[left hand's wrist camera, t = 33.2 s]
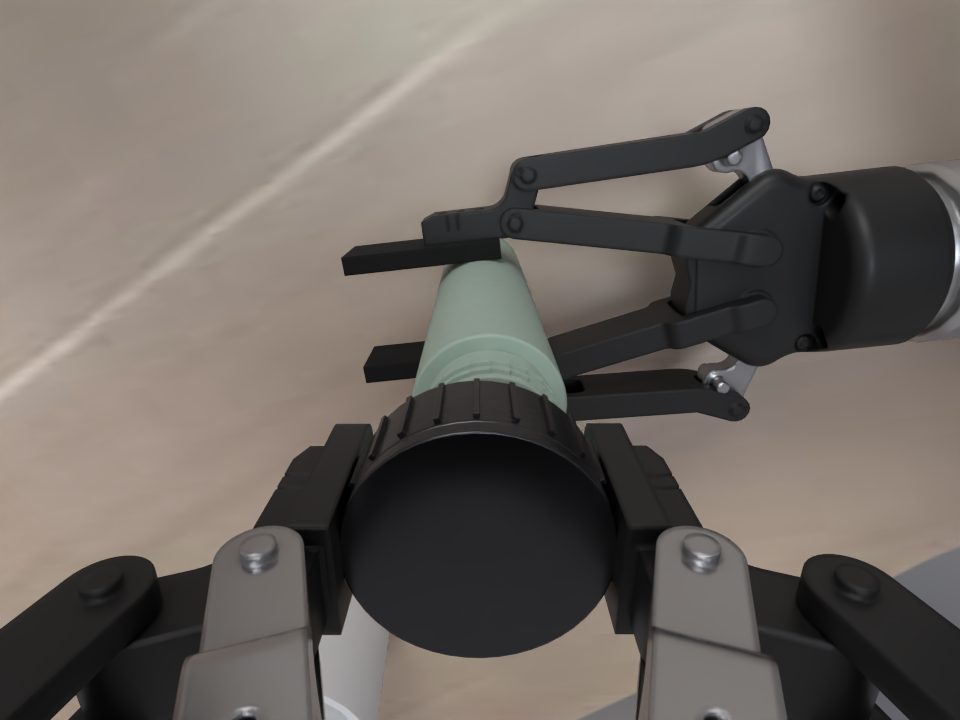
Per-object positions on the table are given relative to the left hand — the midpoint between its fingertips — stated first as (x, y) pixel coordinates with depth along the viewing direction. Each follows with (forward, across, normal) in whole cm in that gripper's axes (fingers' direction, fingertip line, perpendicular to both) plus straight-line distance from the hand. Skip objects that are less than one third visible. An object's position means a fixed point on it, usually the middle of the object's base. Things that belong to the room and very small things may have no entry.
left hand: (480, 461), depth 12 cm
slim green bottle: (+20, 0, 0) cm, 20 cm away
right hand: (+13, -5, -1) cm, 14 cm away
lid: (-3, 0, 0) cm, 3 cm away
